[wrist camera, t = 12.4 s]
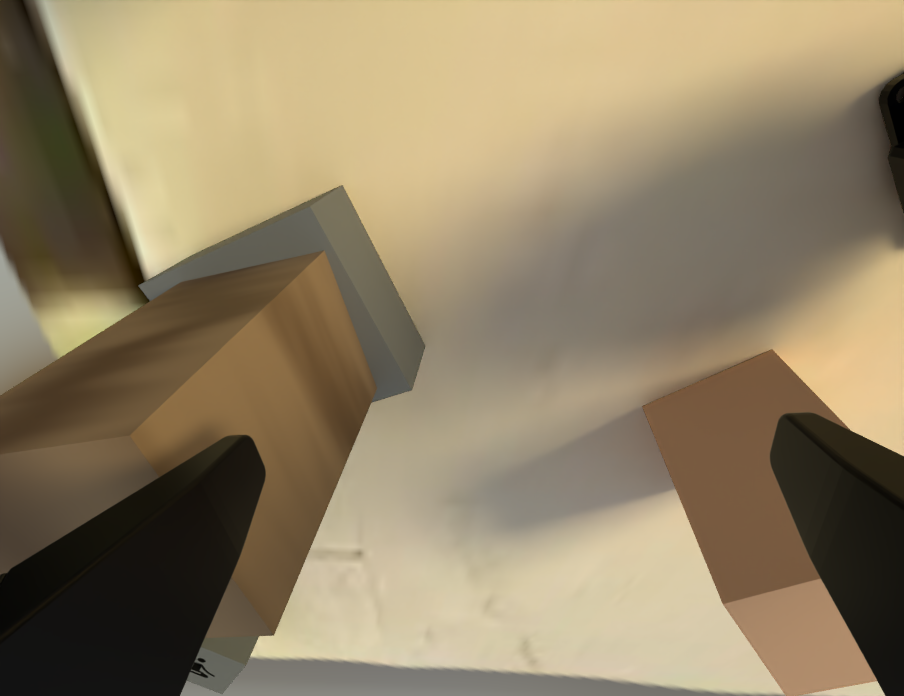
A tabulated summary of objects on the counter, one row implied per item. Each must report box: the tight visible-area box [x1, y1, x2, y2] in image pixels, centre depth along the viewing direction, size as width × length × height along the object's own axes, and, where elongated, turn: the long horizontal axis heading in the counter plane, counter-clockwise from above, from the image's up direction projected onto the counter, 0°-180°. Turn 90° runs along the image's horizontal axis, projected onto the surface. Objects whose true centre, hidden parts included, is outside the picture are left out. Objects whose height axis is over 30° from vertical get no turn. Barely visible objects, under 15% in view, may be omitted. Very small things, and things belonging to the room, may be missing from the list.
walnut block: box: [0, 250, 377, 638], centre depth 14 cm, size 6×6×10 cm
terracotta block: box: [642, 350, 877, 696], centre depth 19 cm, size 6×6×10 cm
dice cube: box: [187, 636, 259, 694], centre depth 33 cm, size 5×5×5 cm
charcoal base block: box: [138, 185, 425, 403], centre depth 21 cm, size 8×8×4 cm
